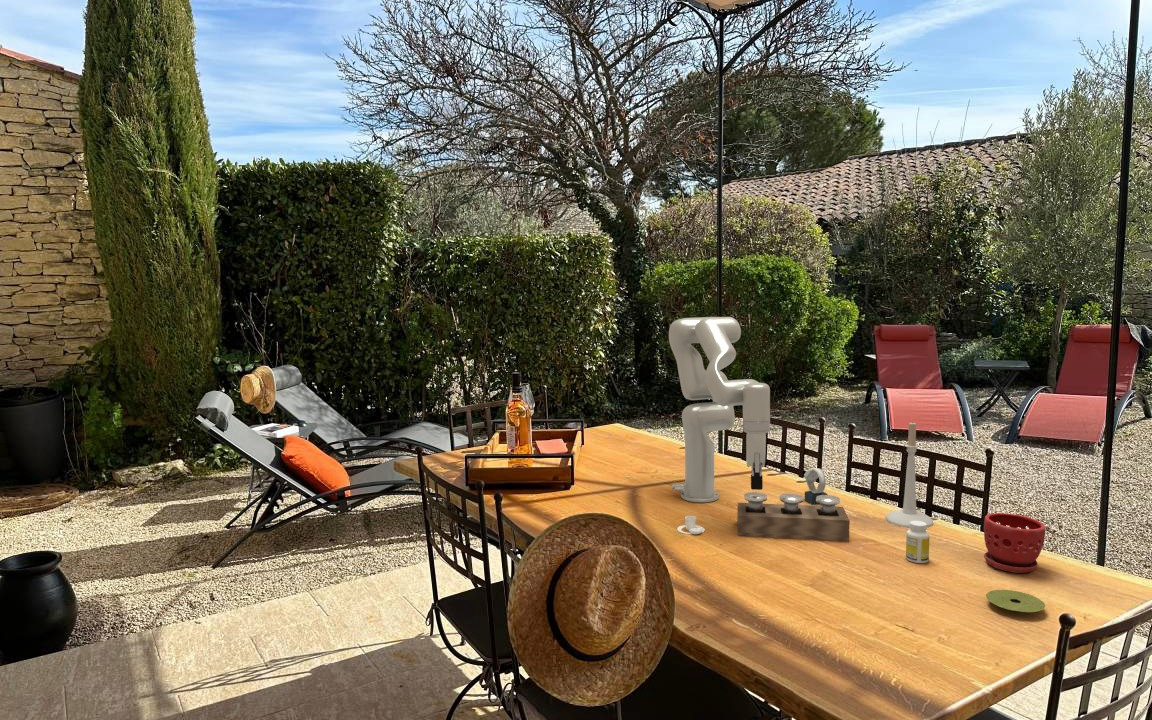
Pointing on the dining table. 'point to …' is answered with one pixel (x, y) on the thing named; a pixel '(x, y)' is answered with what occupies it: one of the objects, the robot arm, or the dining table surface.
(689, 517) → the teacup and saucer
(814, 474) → the watch
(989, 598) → the mat
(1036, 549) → the plant pot
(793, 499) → the knob mid
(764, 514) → the knob bar
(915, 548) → the supplement bottle
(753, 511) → the knob
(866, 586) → the dining table surface
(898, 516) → the candlestick
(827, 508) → the knob
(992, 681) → the dining table surface
